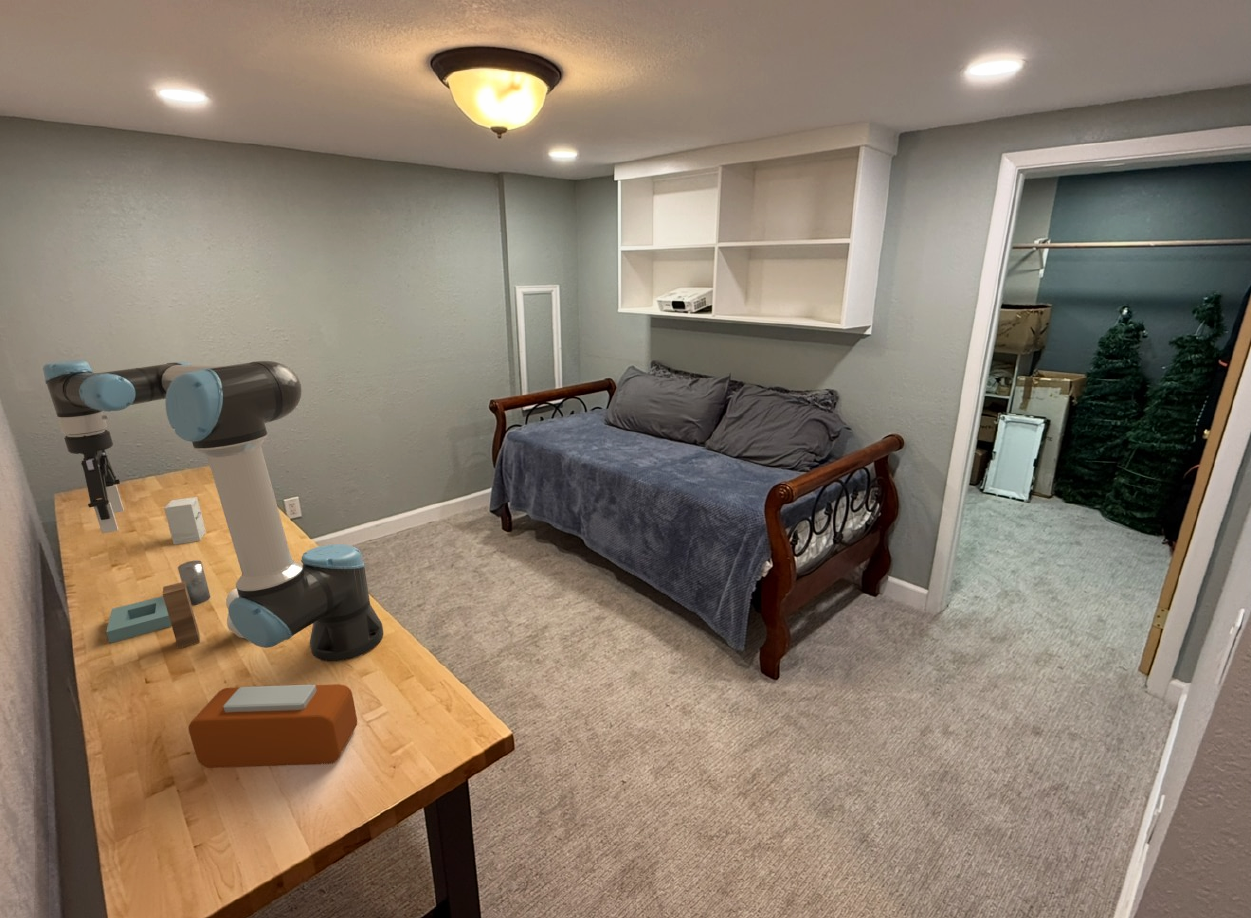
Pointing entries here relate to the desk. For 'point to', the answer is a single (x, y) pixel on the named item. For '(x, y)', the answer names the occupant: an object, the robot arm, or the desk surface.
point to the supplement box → (185, 520)
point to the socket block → (137, 619)
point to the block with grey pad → (274, 726)
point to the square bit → (181, 614)
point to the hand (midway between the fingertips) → (113, 521)
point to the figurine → (229, 599)
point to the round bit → (194, 581)
